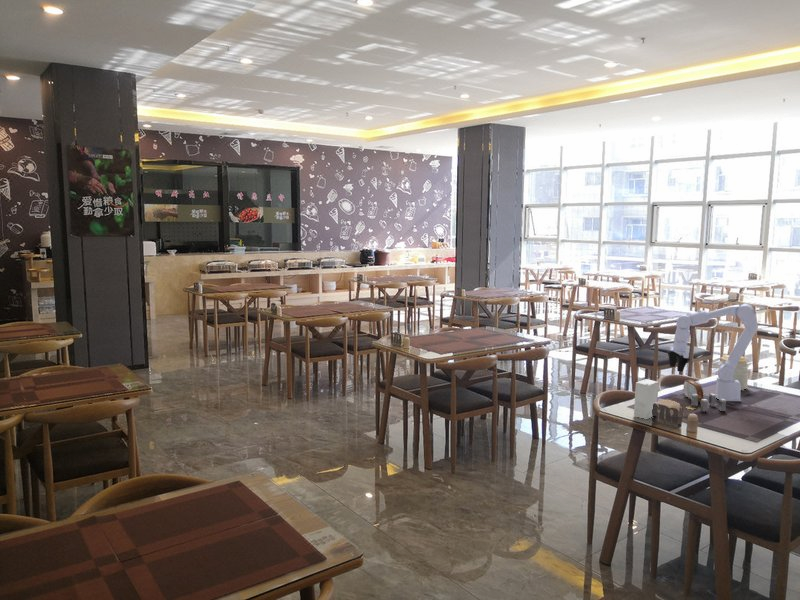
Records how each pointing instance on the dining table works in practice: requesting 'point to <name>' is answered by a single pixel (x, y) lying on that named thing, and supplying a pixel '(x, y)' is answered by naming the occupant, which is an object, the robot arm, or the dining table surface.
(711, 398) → the collar
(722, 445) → the dining table surface
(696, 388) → the bread slice
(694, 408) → the brass mark
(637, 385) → the skincare box
